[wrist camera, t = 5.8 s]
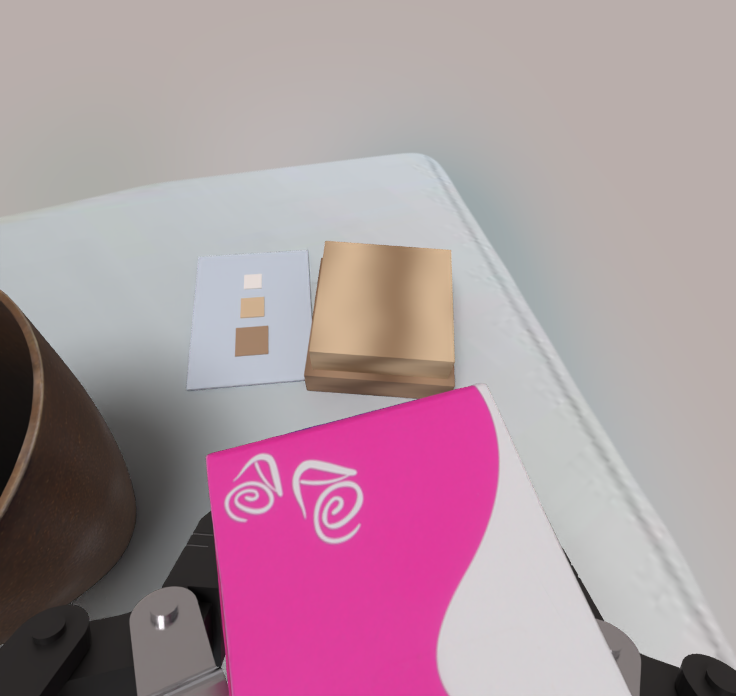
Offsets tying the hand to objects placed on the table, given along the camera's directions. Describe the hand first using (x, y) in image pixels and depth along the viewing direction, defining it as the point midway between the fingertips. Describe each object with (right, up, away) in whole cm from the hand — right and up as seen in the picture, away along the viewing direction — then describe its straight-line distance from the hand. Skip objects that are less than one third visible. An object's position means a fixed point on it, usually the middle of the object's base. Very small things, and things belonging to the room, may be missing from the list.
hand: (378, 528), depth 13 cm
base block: (+1, +6, +21) cm, 22 cm away
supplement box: (0, -4, +4) cm, 5 cm away
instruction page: (-9, +8, +21) cm, 24 cm away
